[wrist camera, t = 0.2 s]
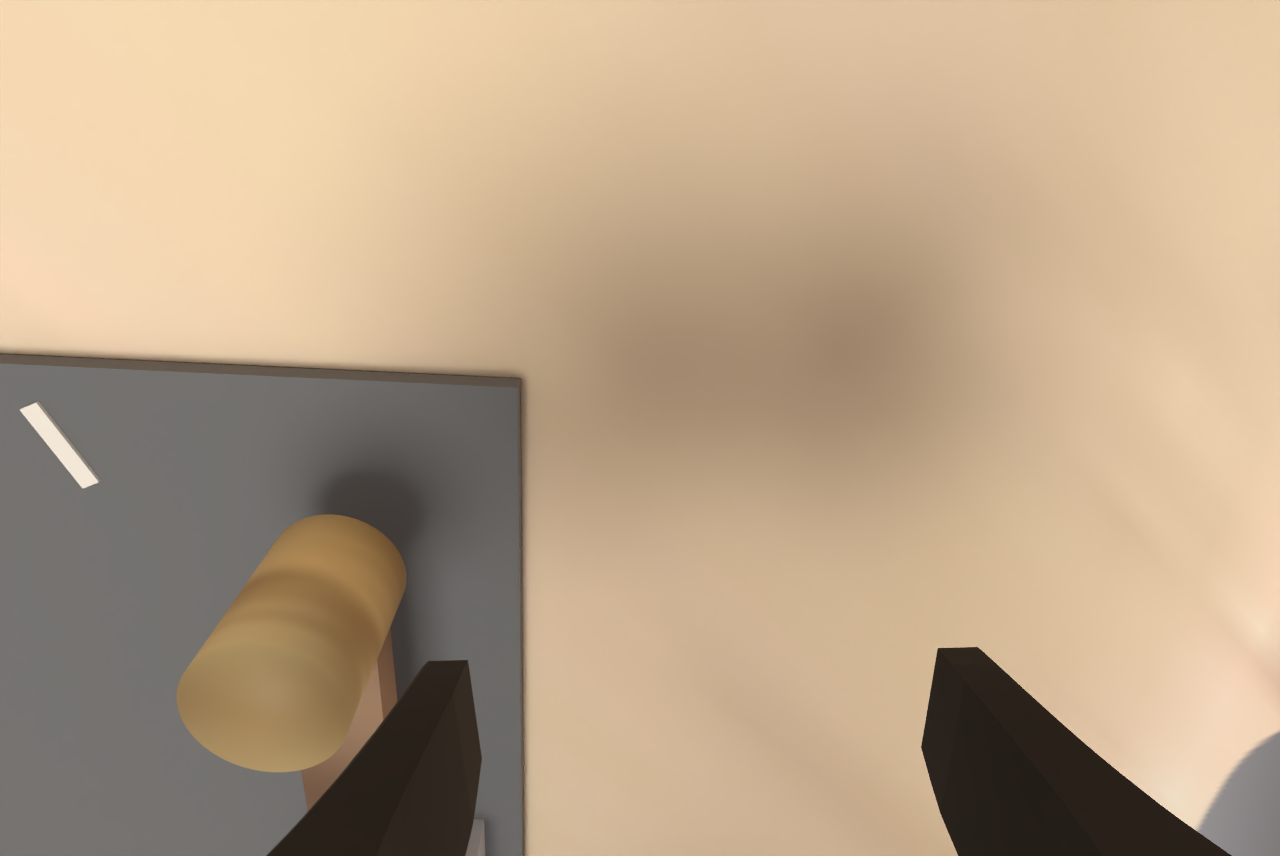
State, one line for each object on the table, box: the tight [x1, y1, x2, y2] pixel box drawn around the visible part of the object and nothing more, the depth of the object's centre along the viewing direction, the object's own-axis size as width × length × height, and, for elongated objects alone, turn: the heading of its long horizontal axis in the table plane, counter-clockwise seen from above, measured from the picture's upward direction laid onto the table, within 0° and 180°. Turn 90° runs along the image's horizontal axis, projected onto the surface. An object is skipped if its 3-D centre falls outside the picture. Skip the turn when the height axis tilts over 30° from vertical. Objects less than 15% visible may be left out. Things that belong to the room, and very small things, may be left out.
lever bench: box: [0, 354, 524, 856], centre depth 24 cm, size 21×19×3 cm
